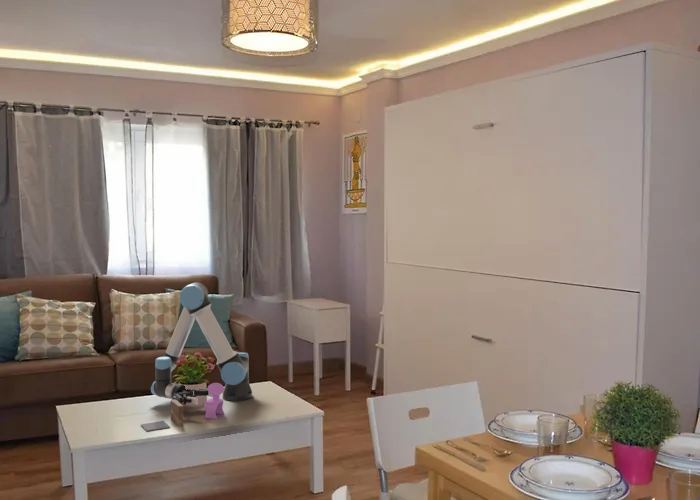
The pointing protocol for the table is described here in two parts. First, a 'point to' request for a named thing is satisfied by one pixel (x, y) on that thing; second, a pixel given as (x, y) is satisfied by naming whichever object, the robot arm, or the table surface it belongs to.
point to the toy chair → (214, 401)
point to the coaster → (155, 426)
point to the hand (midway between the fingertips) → (208, 398)
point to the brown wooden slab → (177, 412)
